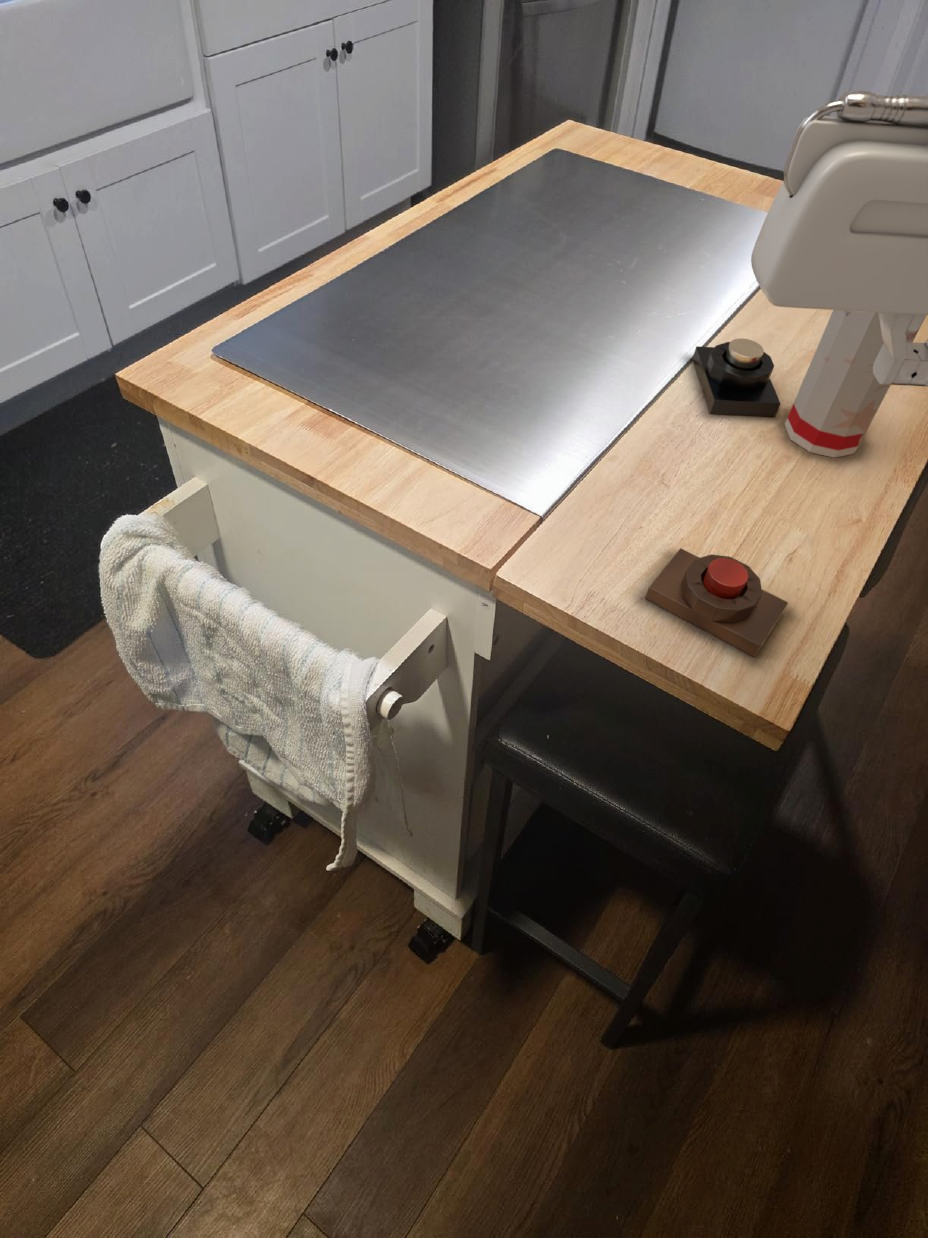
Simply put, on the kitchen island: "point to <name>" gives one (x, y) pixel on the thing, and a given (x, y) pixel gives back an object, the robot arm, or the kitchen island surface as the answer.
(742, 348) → the switch button
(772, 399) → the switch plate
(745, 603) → the block
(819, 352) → the spray bottle
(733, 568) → the bell button
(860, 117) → the robot arm
